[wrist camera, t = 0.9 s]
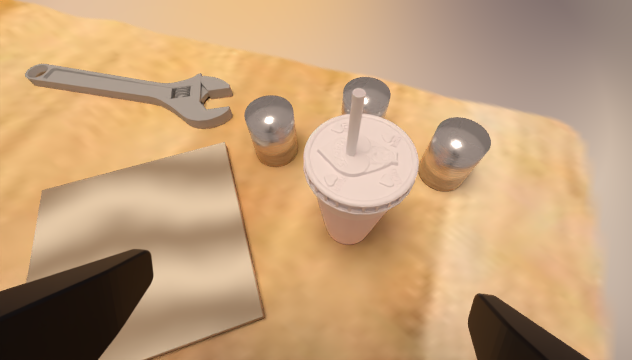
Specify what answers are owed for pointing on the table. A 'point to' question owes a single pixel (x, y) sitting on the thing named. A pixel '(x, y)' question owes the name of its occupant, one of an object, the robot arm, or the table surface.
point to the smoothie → (358, 170)
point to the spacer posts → (444, 148)
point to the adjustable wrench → (143, 91)
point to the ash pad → (159, 246)
